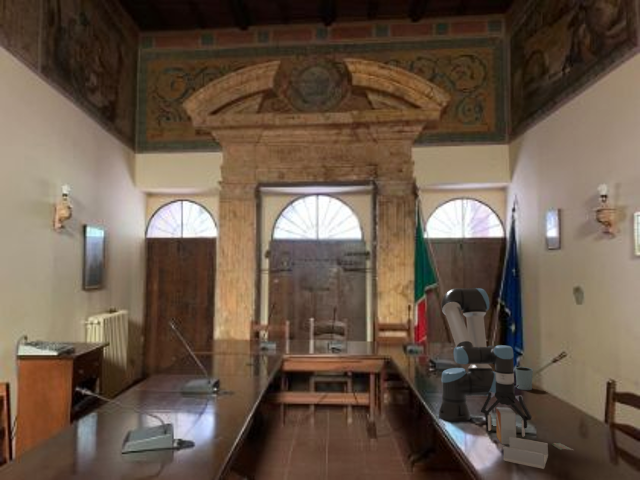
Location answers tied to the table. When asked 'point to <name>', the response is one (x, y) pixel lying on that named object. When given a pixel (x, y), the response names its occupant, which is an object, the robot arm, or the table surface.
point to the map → (561, 446)
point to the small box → (505, 424)
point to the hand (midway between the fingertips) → (506, 432)
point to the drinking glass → (524, 378)
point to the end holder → (526, 452)
